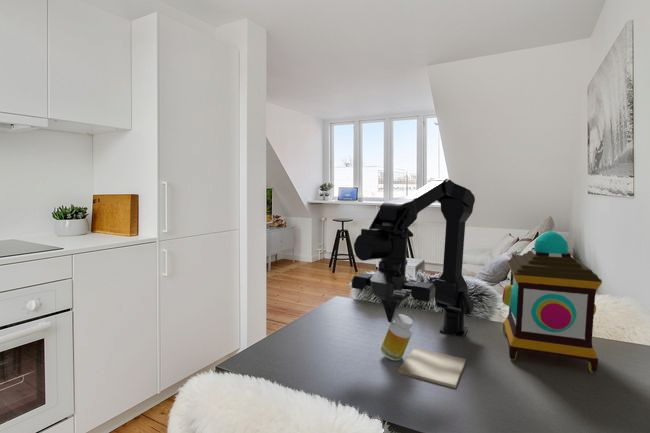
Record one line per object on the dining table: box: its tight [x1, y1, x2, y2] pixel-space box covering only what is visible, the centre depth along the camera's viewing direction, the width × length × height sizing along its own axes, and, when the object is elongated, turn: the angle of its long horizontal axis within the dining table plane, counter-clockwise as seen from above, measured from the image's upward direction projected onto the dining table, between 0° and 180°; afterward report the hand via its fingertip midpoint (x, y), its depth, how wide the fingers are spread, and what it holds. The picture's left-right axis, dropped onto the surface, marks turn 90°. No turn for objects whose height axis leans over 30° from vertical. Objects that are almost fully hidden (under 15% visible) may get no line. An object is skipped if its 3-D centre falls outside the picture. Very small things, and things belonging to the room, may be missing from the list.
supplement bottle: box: [380, 313, 414, 361], centre depth 87 cm, size 5×5×10 cm
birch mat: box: [397, 347, 467, 389], centre depth 83 cm, size 13×12×1 cm
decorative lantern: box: [502, 230, 603, 374], centre depth 90 cm, size 20×20×30 cm
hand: (390, 321), depth 87 cm, fingers closed
